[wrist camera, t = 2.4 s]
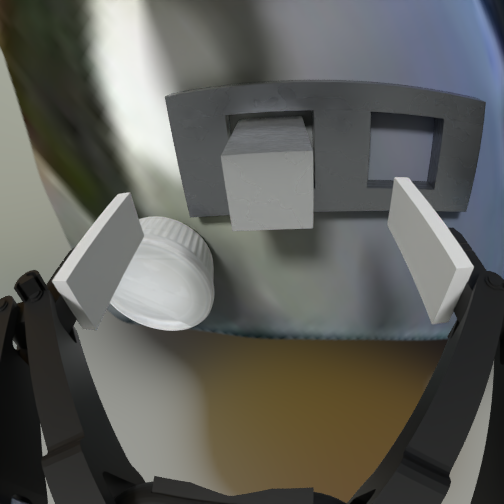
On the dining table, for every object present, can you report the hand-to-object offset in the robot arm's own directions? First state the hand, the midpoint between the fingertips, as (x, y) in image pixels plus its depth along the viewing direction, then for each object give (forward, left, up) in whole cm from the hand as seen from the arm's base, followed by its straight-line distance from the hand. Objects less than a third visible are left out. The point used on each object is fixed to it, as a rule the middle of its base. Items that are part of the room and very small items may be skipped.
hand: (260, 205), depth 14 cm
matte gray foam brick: (0, 0, -9) cm, 9 cm away
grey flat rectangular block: (-5, 0, -9) cm, 11 cm away
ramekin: (+11, +10, -10) cm, 17 cm away
